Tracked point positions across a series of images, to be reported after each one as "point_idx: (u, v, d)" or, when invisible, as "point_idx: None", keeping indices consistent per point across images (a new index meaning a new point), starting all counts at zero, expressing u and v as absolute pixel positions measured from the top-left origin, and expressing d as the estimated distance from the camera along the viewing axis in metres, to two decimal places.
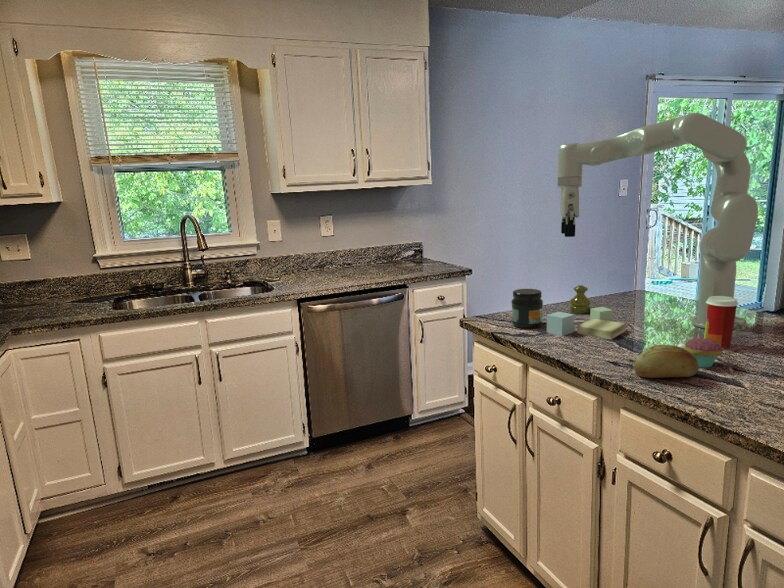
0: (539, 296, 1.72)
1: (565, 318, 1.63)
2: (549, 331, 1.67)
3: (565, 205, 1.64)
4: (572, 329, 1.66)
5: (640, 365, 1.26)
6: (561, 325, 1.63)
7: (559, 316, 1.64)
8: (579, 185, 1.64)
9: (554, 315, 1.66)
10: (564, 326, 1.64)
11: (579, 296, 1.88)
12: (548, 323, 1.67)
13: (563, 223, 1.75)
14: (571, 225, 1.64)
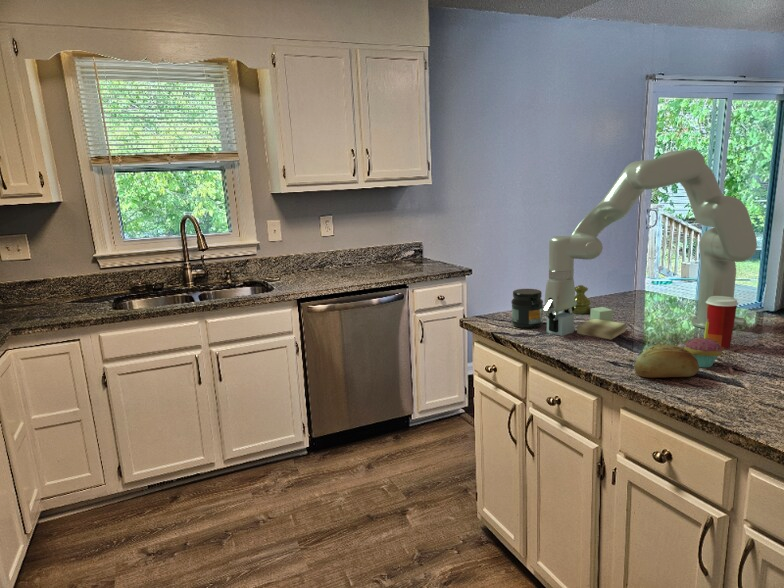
0: (539, 296, 1.72)
1: (565, 318, 1.63)
2: (549, 331, 1.67)
3: None
4: (572, 329, 1.66)
5: (641, 365, 1.27)
6: (561, 325, 1.63)
7: (559, 316, 1.64)
8: None
9: None
10: (564, 326, 1.64)
11: (579, 296, 1.88)
12: (548, 323, 1.67)
13: None
14: None
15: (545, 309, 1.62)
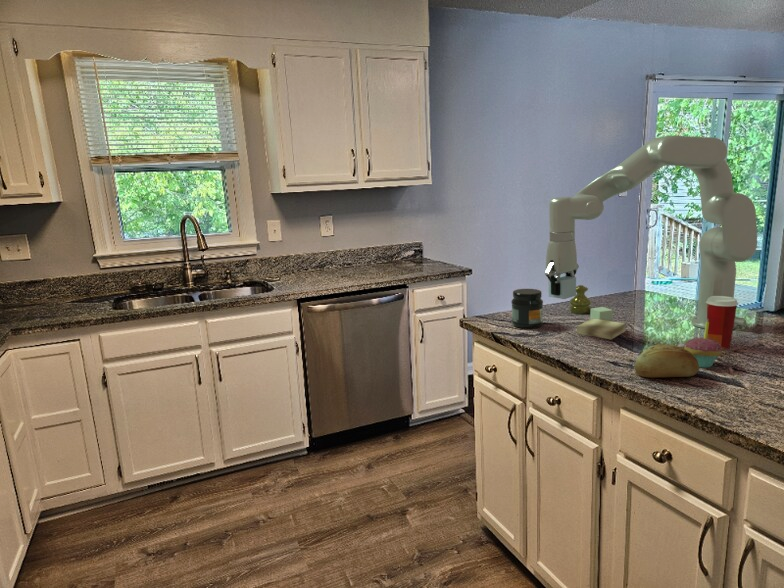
0: (539, 296, 1.72)
1: (567, 280, 1.61)
2: (551, 295, 1.65)
3: None
4: (574, 292, 1.63)
5: (641, 364, 1.27)
6: (563, 288, 1.60)
7: (561, 279, 1.62)
8: None
9: None
10: (567, 289, 1.61)
11: (579, 296, 1.88)
12: (550, 287, 1.64)
13: None
14: None
15: (547, 272, 1.59)
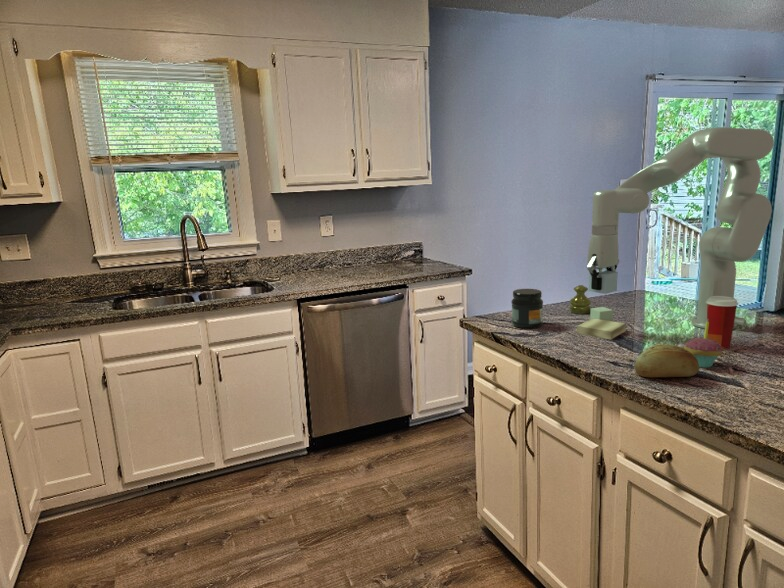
0: (539, 296, 1.72)
1: (609, 275, 1.58)
2: (591, 289, 1.62)
3: None
4: (615, 287, 1.61)
5: (641, 364, 1.27)
6: (605, 282, 1.58)
7: (602, 273, 1.59)
8: None
9: None
10: (608, 283, 1.58)
11: (579, 296, 1.88)
12: (590, 281, 1.62)
13: None
14: None
15: (589, 265, 1.56)
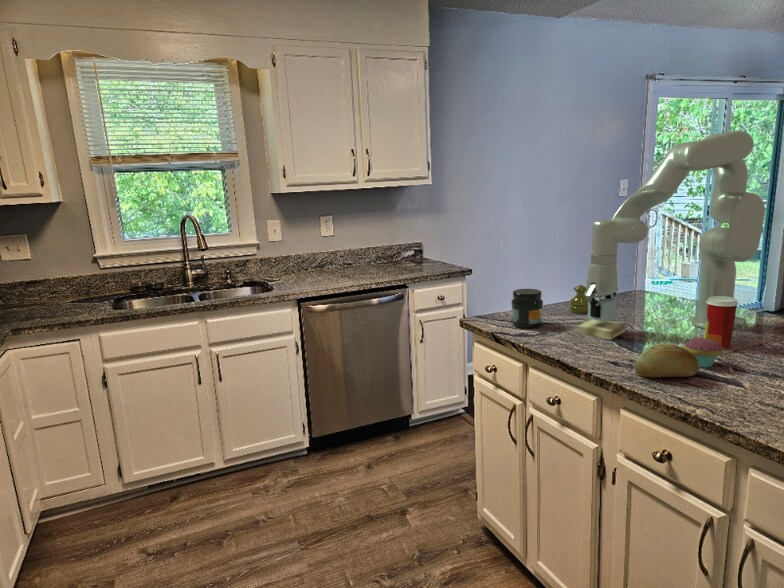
0: (539, 296, 1.72)
1: (608, 303, 1.60)
2: (590, 317, 1.64)
3: None
4: (614, 315, 1.63)
5: (641, 364, 1.27)
6: (604, 310, 1.60)
7: (601, 301, 1.61)
8: None
9: (596, 300, 1.62)
10: (607, 311, 1.60)
11: (579, 296, 1.88)
12: (589, 308, 1.64)
13: None
14: None
15: (588, 294, 1.58)
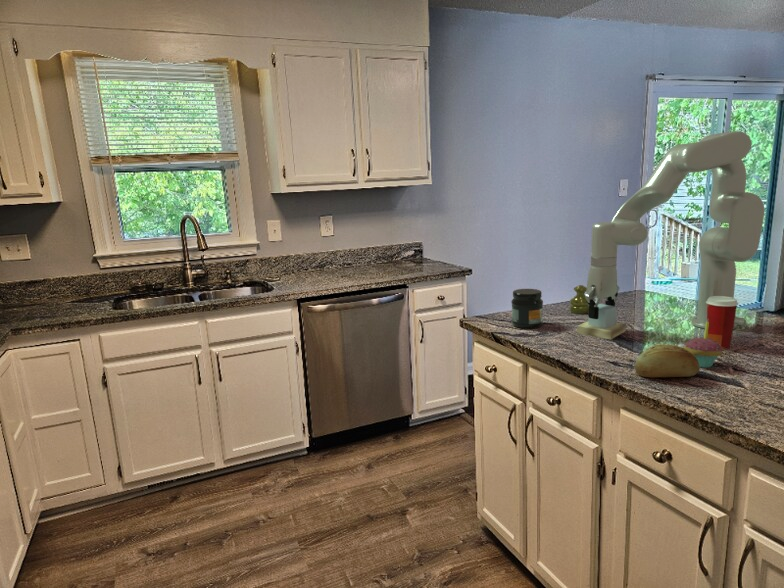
0: (539, 296, 1.72)
1: (608, 310, 1.60)
2: (591, 323, 1.64)
3: None
4: (615, 321, 1.63)
5: (641, 364, 1.27)
6: (604, 317, 1.60)
7: (602, 308, 1.61)
8: None
9: None
10: (607, 318, 1.61)
11: (579, 296, 1.88)
12: None
13: None
14: None
15: (587, 294, 1.58)
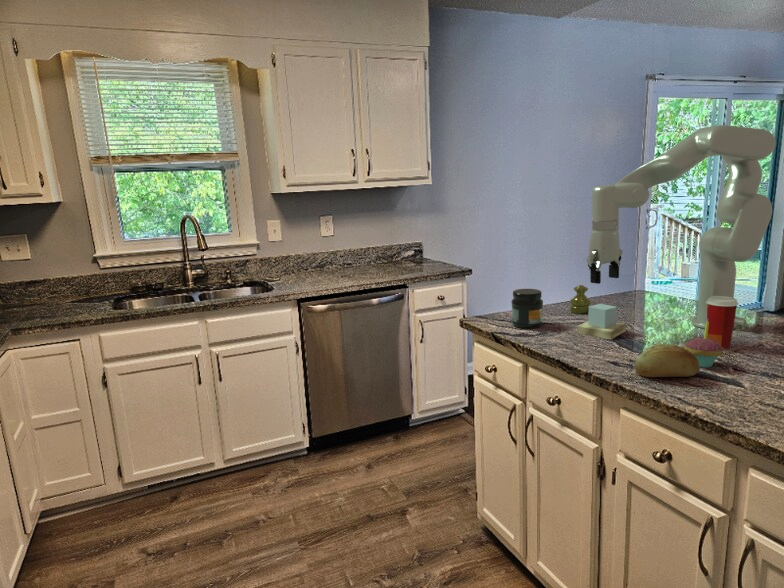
0: (539, 296, 1.72)
1: (608, 310, 1.60)
2: (591, 323, 1.64)
3: None
4: (615, 321, 1.63)
5: (641, 364, 1.27)
6: (604, 317, 1.60)
7: (602, 308, 1.61)
8: None
9: (596, 307, 1.63)
10: (607, 318, 1.61)
11: (579, 296, 1.88)
12: (590, 315, 1.64)
13: None
14: None
15: (588, 257, 1.55)
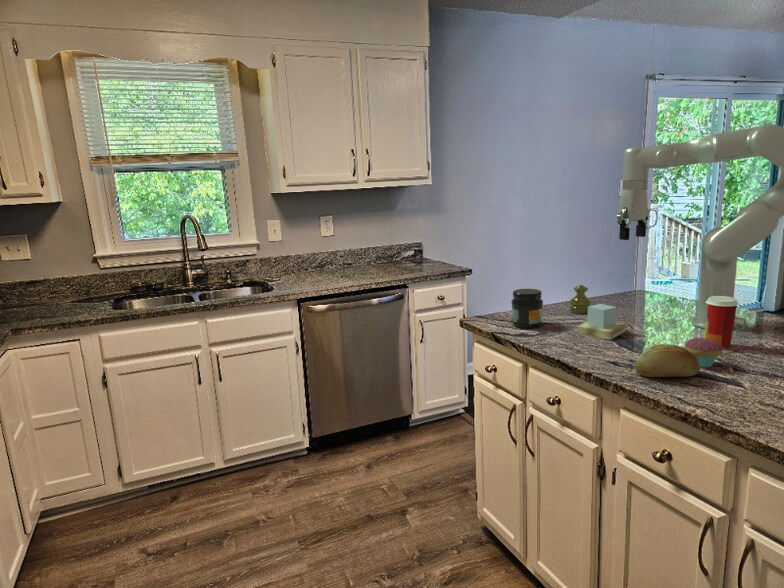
0: (539, 296, 1.72)
1: (607, 310, 1.60)
2: (590, 323, 1.65)
3: None
4: (614, 322, 1.63)
5: (641, 364, 1.27)
6: (602, 317, 1.60)
7: (600, 308, 1.61)
8: None
9: (595, 307, 1.63)
10: (606, 318, 1.61)
11: (579, 296, 1.88)
12: (589, 315, 1.64)
13: None
14: None
15: (619, 214, 1.65)
